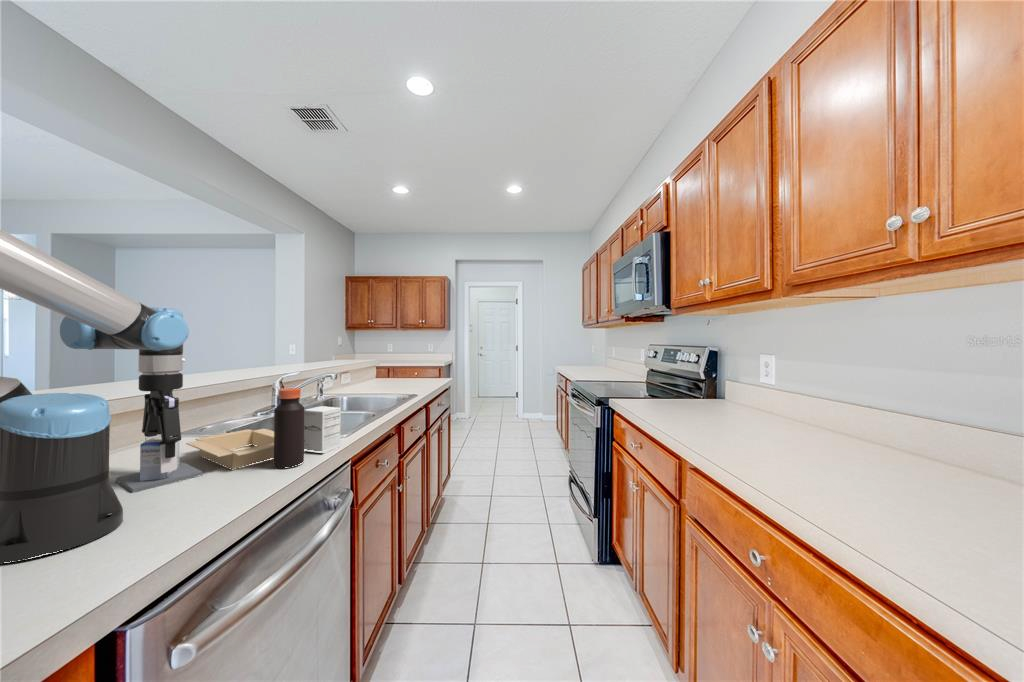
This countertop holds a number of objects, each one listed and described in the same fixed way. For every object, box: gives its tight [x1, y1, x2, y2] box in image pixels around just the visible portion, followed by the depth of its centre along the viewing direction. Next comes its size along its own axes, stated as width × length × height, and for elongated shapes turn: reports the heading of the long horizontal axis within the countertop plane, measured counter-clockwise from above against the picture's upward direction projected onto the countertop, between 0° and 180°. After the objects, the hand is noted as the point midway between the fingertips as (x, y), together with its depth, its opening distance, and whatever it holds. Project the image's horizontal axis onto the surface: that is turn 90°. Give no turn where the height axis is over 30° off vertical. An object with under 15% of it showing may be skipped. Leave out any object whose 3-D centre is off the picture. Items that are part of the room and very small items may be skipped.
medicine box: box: [139, 434, 180, 481], centre depth 85 cm, size 8×4×9 cm, turn 25°
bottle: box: [273, 387, 305, 469], centre depth 95 cm, size 7×7×20 cm
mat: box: [116, 462, 203, 493], centre depth 85 cm, size 12×12×1 cm
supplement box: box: [304, 405, 342, 451], centre depth 108 cm, size 7×7×13 cm
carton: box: [185, 428, 274, 470], centre depth 102 cm, size 26×19×4 cm
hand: (160, 466), depth 85 cm, fingers open, 10 cm apart
